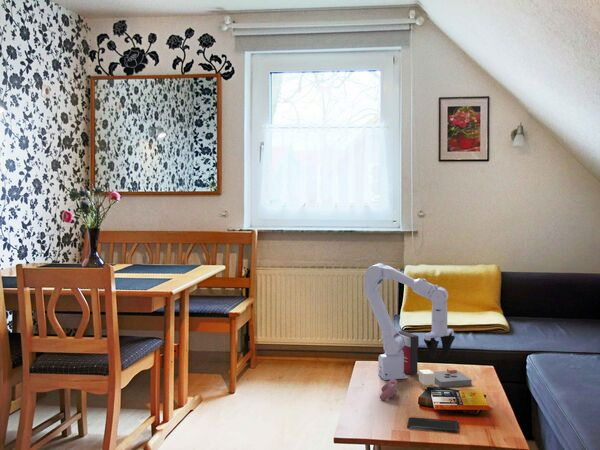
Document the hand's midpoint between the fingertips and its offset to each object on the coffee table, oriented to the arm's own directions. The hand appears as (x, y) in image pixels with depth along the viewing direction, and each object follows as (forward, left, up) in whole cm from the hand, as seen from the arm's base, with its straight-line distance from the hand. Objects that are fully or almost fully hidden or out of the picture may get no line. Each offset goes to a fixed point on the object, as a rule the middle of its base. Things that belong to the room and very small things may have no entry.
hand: (439, 356), depth 217 cm
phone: (-19, -39, -10) cm, 45 cm away
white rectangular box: (-7, -5, -10) cm, 13 cm away
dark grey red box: (-7, +16, -10) cm, 20 cm away
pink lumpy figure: (-24, -11, -10) cm, 28 cm away
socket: (+4, 0, -10) cm, 10 cm away
